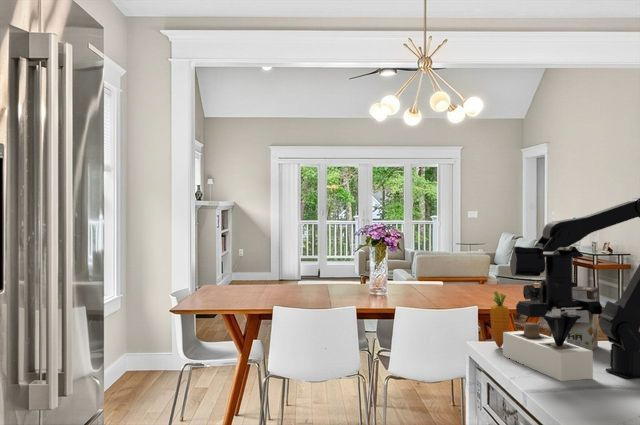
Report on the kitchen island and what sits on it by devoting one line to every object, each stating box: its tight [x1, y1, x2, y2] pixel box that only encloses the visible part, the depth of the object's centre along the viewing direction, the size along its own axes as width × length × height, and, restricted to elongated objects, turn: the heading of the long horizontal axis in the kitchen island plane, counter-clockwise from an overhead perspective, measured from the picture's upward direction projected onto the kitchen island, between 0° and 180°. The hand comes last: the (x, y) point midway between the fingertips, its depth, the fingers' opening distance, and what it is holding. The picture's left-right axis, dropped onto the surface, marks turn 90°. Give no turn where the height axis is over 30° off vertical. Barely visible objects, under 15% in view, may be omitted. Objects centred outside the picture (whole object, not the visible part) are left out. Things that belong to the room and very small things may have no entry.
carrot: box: [489, 290, 510, 349], centre depth 149 cm, size 5×5×15 cm
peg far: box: [523, 322, 541, 339], centre depth 135 cm, size 4×4×6 cm
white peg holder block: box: [502, 330, 594, 382], centre depth 130 cm, size 22×8×6 cm, turn 14°
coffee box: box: [566, 285, 599, 352], centre depth 149 cm, size 9×6×16 cm
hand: (559, 345), depth 126 cm, fingers closed, pressing on peg near
